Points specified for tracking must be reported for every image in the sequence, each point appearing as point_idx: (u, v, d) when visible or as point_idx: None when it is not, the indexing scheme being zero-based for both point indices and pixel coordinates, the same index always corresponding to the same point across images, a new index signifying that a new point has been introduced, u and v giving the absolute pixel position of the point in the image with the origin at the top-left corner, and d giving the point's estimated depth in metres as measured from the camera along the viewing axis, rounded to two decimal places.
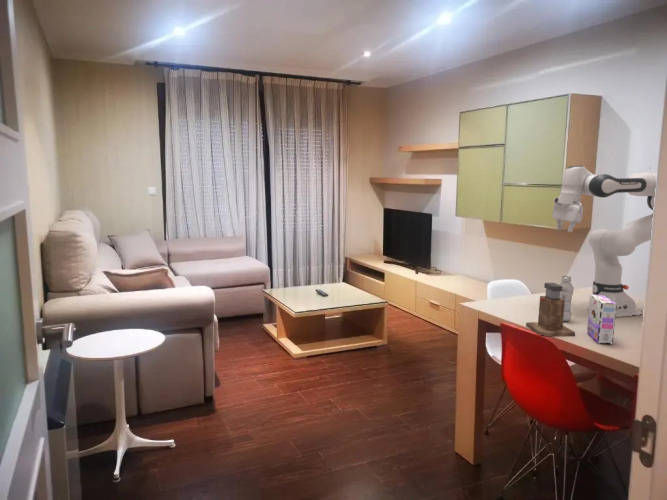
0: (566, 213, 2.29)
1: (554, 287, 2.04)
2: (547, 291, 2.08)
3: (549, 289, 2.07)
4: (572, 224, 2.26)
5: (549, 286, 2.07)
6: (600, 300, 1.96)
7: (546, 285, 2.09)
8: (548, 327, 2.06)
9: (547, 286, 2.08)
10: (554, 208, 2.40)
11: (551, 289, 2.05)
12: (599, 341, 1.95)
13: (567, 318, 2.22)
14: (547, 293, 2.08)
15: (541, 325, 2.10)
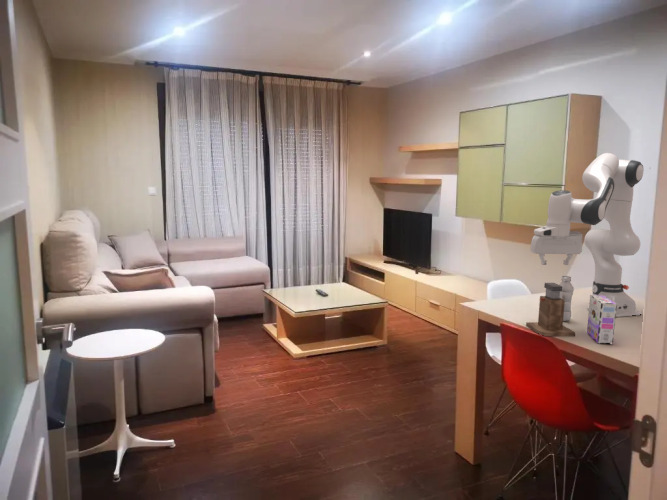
0: (565, 245, 2.03)
1: (554, 287, 2.04)
2: (547, 291, 2.08)
3: (549, 289, 2.07)
4: None
5: (549, 286, 2.07)
6: (600, 300, 1.96)
7: (546, 285, 2.09)
8: (548, 327, 2.06)
9: (547, 286, 2.08)
10: (539, 242, 2.02)
11: (551, 289, 2.05)
12: (599, 341, 1.95)
13: (567, 318, 2.22)
14: (547, 293, 2.08)
15: (541, 325, 2.10)
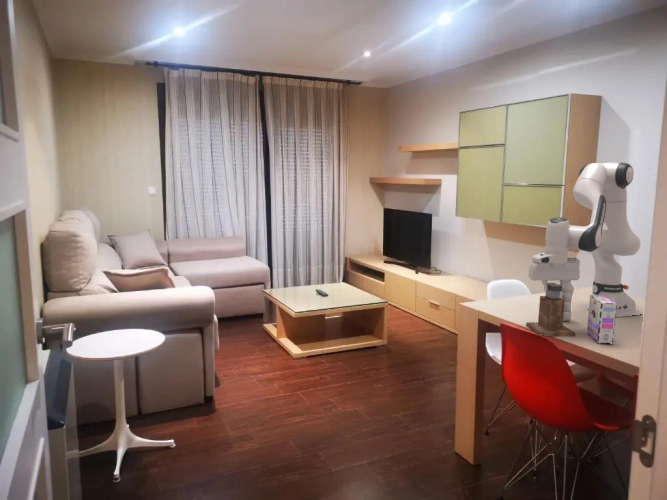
0: (563, 271, 2.05)
1: (554, 287, 2.04)
2: (547, 291, 2.08)
3: (549, 289, 2.07)
4: None
5: (549, 286, 2.07)
6: (600, 300, 1.96)
7: None
8: (548, 327, 2.06)
9: None
10: (537, 269, 2.04)
11: (551, 289, 2.05)
12: (599, 341, 1.95)
13: (567, 318, 2.22)
14: (547, 293, 2.08)
15: (541, 325, 2.10)
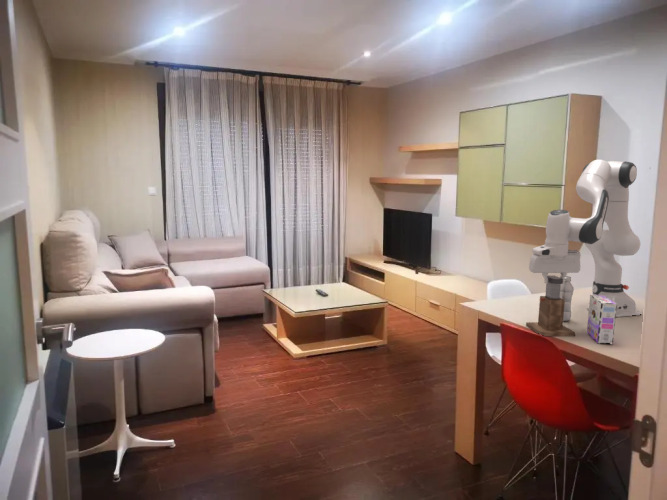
0: (563, 264, 2.04)
1: (555, 280, 2.03)
2: (548, 284, 2.08)
3: None
4: None
5: (550, 279, 2.06)
6: (600, 300, 1.96)
7: None
8: (548, 327, 2.06)
9: None
10: (537, 261, 2.03)
11: (552, 282, 2.04)
12: (599, 341, 1.95)
13: (567, 318, 2.22)
14: (548, 286, 2.08)
15: (541, 325, 2.10)
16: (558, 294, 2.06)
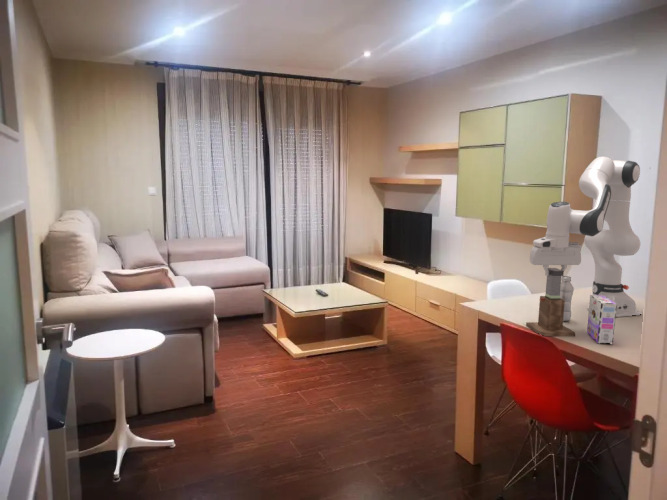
0: (564, 256, 2.04)
1: (555, 272, 2.03)
2: (548, 276, 2.07)
3: None
4: None
5: (550, 271, 2.06)
6: (600, 300, 1.96)
7: None
8: (548, 327, 2.06)
9: None
10: (538, 253, 2.03)
11: (552, 274, 2.04)
12: (599, 341, 1.95)
13: (567, 318, 2.22)
14: (548, 278, 2.07)
15: (541, 325, 2.10)
16: (559, 286, 2.06)
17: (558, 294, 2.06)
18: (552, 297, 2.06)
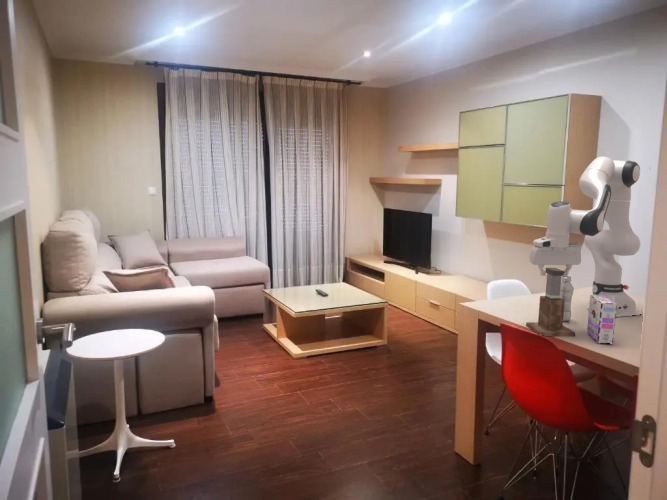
0: (564, 256, 2.04)
1: (555, 272, 2.03)
2: (548, 276, 2.07)
3: (550, 274, 2.06)
4: None
5: (550, 271, 2.06)
6: (600, 300, 1.96)
7: (547, 270, 2.08)
8: (548, 327, 2.06)
9: (548, 271, 2.07)
10: (538, 253, 2.03)
11: (552, 274, 2.04)
12: (599, 341, 1.95)
13: (567, 318, 2.22)
14: (548, 278, 2.07)
15: (541, 325, 2.10)
16: (559, 286, 2.06)
17: (558, 294, 2.06)
18: (552, 296, 2.06)
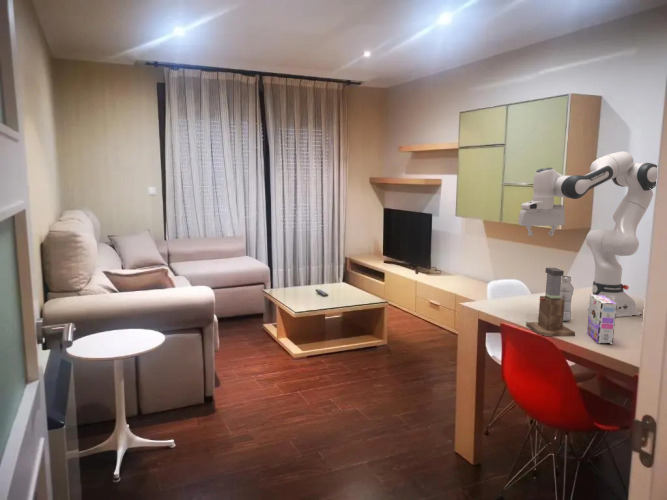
0: (549, 217, 2.24)
1: (555, 272, 2.03)
2: (548, 276, 2.07)
3: (550, 274, 2.06)
4: None
5: (550, 271, 2.06)
6: (600, 300, 1.96)
7: (547, 270, 2.08)
8: (548, 327, 2.06)
9: (548, 271, 2.07)
10: (526, 215, 2.23)
11: (552, 274, 2.04)
12: (599, 341, 1.95)
13: (567, 318, 2.22)
14: (548, 278, 2.07)
15: (541, 325, 2.10)
16: (559, 286, 2.06)
17: (558, 294, 2.06)
18: (552, 296, 2.06)
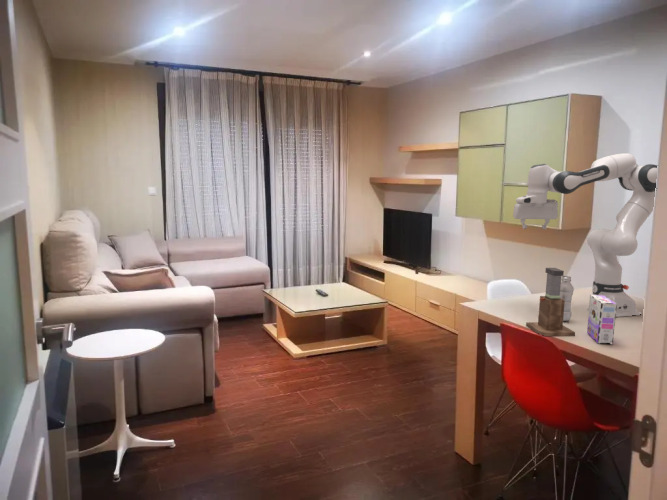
0: (543, 211, 2.34)
1: (555, 272, 2.03)
2: (548, 276, 2.07)
3: (550, 274, 2.06)
4: None
5: (550, 271, 2.06)
6: (600, 300, 1.96)
7: (547, 270, 2.08)
8: (548, 327, 2.06)
9: (548, 271, 2.07)
10: (520, 208, 2.33)
11: (552, 274, 2.04)
12: (599, 341, 1.95)
13: (567, 318, 2.22)
14: (548, 278, 2.07)
15: (541, 325, 2.10)
16: (559, 286, 2.06)
17: (558, 294, 2.06)
18: (552, 296, 2.06)
